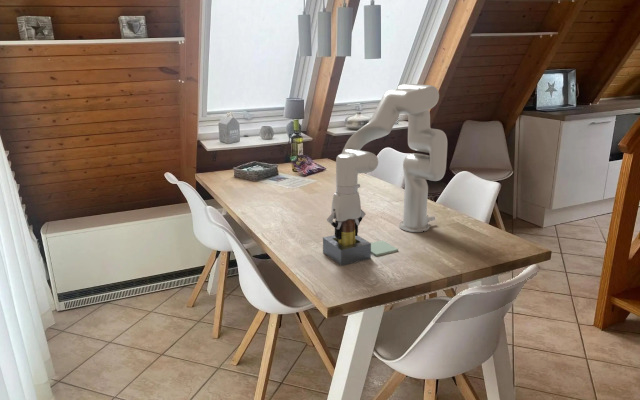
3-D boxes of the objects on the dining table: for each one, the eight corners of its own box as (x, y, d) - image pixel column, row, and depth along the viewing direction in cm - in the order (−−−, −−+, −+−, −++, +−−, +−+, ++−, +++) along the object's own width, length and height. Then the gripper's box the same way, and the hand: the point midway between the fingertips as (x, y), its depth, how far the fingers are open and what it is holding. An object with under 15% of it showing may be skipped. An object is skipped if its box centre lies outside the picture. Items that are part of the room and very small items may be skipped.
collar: (351, 246, 188) (351, 231, 186) (370, 258, 177) (371, 243, 175) (323, 252, 183) (322, 237, 181) (341, 265, 171) (341, 250, 169)
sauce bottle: (344, 250, 184) (345, 200, 178) (358, 254, 180) (359, 203, 174) (334, 256, 179) (334, 204, 173) (348, 260, 175) (348, 208, 169)
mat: (382, 242, 191) (382, 240, 191) (398, 251, 183) (398, 249, 183) (361, 247, 187) (361, 245, 187) (376, 256, 179) (376, 254, 178)
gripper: (361, 183, 179) (360, 229, 184) (320, 189, 171) (320, 237, 177) (373, 188, 173) (372, 235, 178) (330, 195, 165) (330, 244, 170)
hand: (346, 236), depth 177 cm, fingers closed on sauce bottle, 6 cm apart
